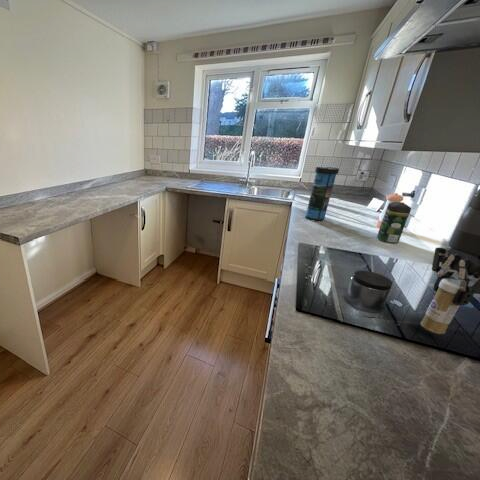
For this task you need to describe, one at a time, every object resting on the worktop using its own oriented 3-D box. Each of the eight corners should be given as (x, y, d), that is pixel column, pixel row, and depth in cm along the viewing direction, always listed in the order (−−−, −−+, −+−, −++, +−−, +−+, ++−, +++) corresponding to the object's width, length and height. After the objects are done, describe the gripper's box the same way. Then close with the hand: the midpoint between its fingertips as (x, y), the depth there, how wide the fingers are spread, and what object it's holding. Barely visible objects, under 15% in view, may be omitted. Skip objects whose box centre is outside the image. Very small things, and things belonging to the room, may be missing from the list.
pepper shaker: (385, 229, 140) (398, 195, 133) (372, 225, 146) (384, 192, 139) (395, 229, 141) (409, 194, 134) (382, 224, 148) (394, 191, 141)
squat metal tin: (369, 300, 80) (380, 271, 76) (388, 319, 71) (402, 288, 67) (337, 297, 81) (346, 268, 77) (352, 316, 73) (364, 285, 69)
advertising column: (327, 218, 157) (341, 168, 145) (322, 223, 149) (336, 169, 138) (307, 215, 164) (319, 166, 152) (301, 218, 156) (313, 167, 145)
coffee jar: (374, 235, 132) (387, 199, 125) (394, 238, 128) (408, 201, 121) (378, 241, 124) (392, 204, 117) (399, 245, 121) (415, 206, 113)
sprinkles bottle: (415, 322, 67) (436, 277, 62) (432, 322, 67) (455, 277, 62) (432, 335, 63) (456, 288, 57) (451, 335, 62) (477, 288, 57)
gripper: (544, 244, 48) (498, 319, 54) (470, 220, 61) (440, 283, 67) (497, 242, 49) (457, 315, 55) (434, 219, 62) (408, 280, 68)
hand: (448, 297), depth 61 cm, fingers closed on sprinkles bottle, 4 cm apart
